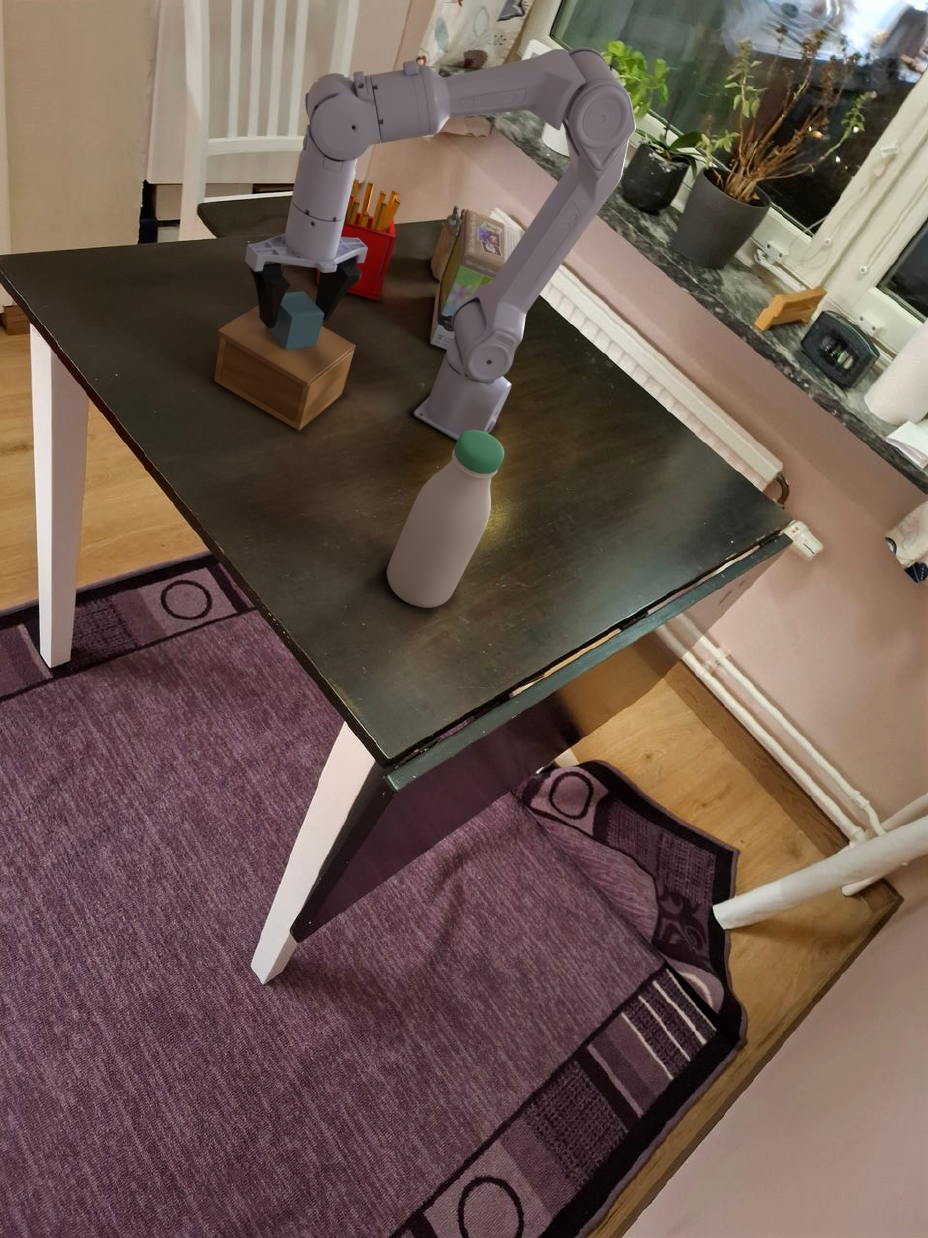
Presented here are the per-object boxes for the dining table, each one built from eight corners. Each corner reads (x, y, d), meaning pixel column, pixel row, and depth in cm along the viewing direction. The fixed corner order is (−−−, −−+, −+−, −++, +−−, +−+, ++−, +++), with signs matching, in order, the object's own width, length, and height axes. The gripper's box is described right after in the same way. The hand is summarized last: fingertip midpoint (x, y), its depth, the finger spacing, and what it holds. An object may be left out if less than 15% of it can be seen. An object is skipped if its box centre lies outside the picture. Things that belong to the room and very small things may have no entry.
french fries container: (316, 262, 125) (337, 169, 115) (375, 277, 128) (400, 189, 118) (317, 287, 121) (338, 193, 111) (377, 302, 124) (403, 212, 114)
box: (298, 431, 99) (310, 385, 94) (214, 380, 100) (220, 332, 95) (341, 394, 107) (354, 350, 102) (262, 347, 107) (271, 301, 102)
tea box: (491, 366, 123) (530, 277, 113) (428, 345, 121) (461, 251, 110) (492, 315, 133) (528, 228, 123) (434, 294, 131) (465, 204, 120)
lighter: (453, 285, 135) (474, 227, 128) (431, 279, 134) (451, 221, 127) (449, 263, 139) (469, 206, 132) (428, 257, 138) (447, 199, 131)
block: (316, 345, 98) (324, 313, 95) (285, 350, 96) (292, 317, 93) (296, 323, 100) (303, 290, 97) (265, 327, 97) (271, 294, 94)
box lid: (306, 387, 94) (307, 382, 93) (216, 335, 94) (217, 329, 94) (354, 349, 102) (355, 345, 101) (271, 301, 102) (272, 296, 102)
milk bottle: (443, 620, 88) (514, 485, 74) (376, 593, 87) (434, 451, 73) (458, 572, 94) (527, 438, 79) (395, 546, 93) (453, 405, 78)
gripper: (280, 230, 81) (259, 348, 90) (394, 225, 89) (363, 332, 99) (242, 191, 83) (225, 309, 93) (357, 189, 92) (330, 298, 102)
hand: (294, 319), depth 96 cm, fingers open, 7 cm apart
